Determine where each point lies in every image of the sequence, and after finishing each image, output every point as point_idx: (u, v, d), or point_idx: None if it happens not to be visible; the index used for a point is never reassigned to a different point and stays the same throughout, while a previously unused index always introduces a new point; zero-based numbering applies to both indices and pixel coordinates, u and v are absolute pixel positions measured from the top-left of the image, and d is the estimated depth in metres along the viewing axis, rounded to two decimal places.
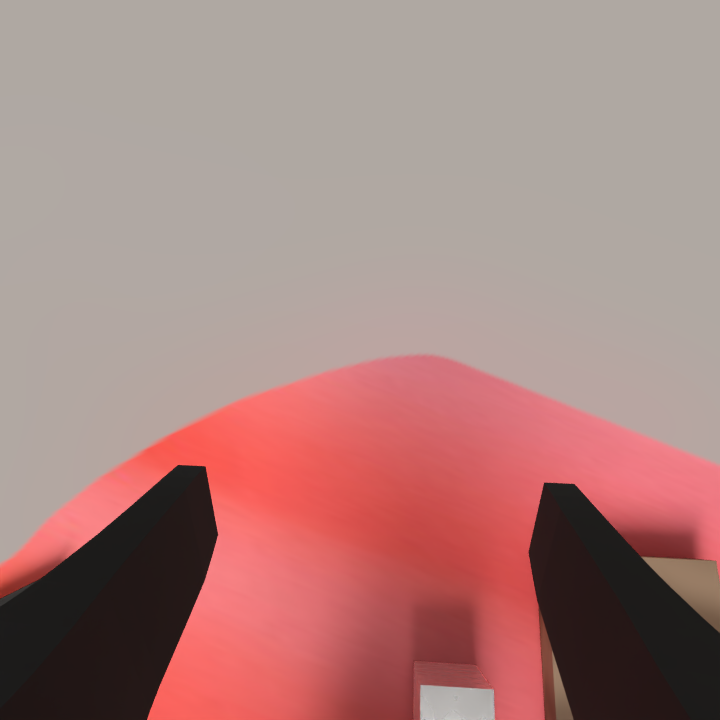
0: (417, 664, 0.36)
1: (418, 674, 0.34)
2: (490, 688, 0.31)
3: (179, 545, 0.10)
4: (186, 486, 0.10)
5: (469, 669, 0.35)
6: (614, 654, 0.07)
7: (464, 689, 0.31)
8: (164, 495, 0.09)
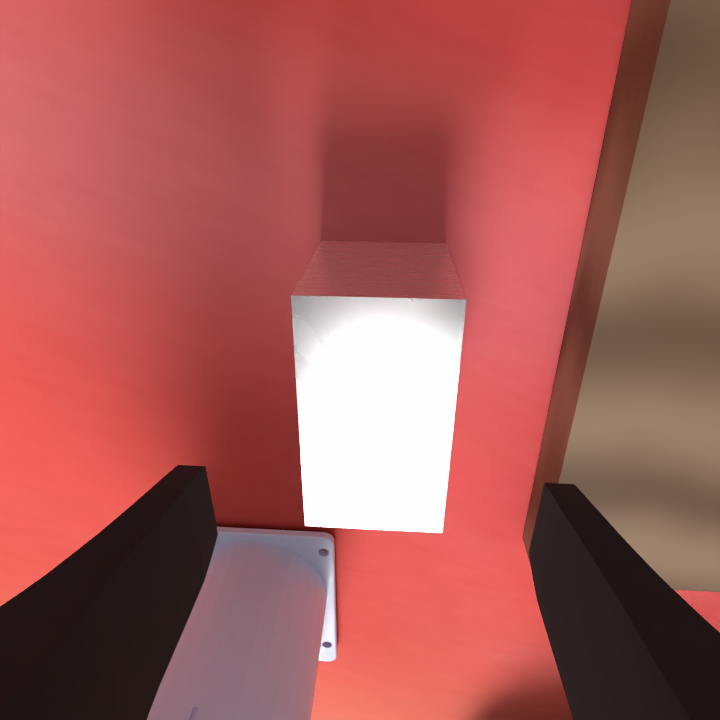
0: (323, 247, 0.18)
1: (307, 269, 0.15)
2: (459, 297, 0.13)
3: (179, 545, 0.10)
4: (186, 486, 0.10)
5: (428, 253, 0.17)
6: (614, 654, 0.07)
7: (396, 302, 0.13)
8: (164, 495, 0.09)
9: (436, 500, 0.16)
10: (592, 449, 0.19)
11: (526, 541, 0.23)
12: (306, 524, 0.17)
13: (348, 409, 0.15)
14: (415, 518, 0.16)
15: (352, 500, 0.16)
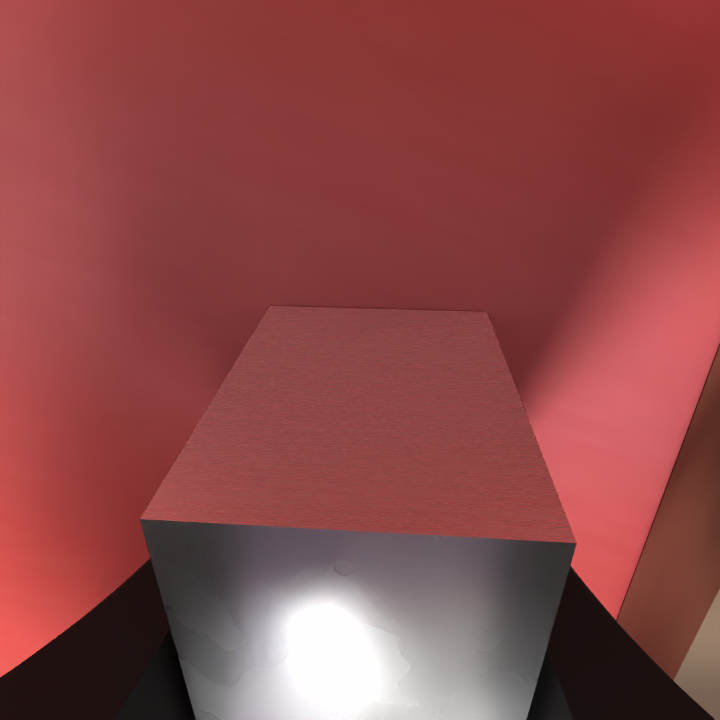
0: (267, 326, 0.10)
1: (217, 398, 0.07)
2: (555, 528, 0.05)
3: None
4: None
5: (459, 344, 0.09)
6: None
7: (398, 542, 0.05)
8: None
9: None
10: None
11: None
12: None
13: (296, 710, 0.07)
14: None
15: None
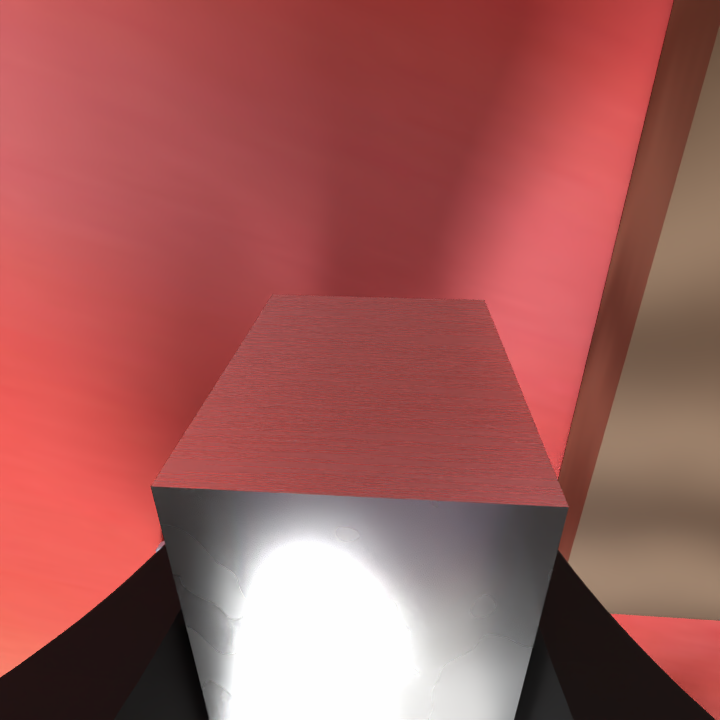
0: (271, 313, 0.10)
1: (223, 379, 0.08)
2: (548, 494, 0.05)
3: None
4: None
5: (457, 330, 0.09)
6: None
7: (398, 507, 0.05)
8: None
9: None
10: (623, 470, 0.16)
11: None
12: None
13: (300, 678, 0.07)
14: None
15: None
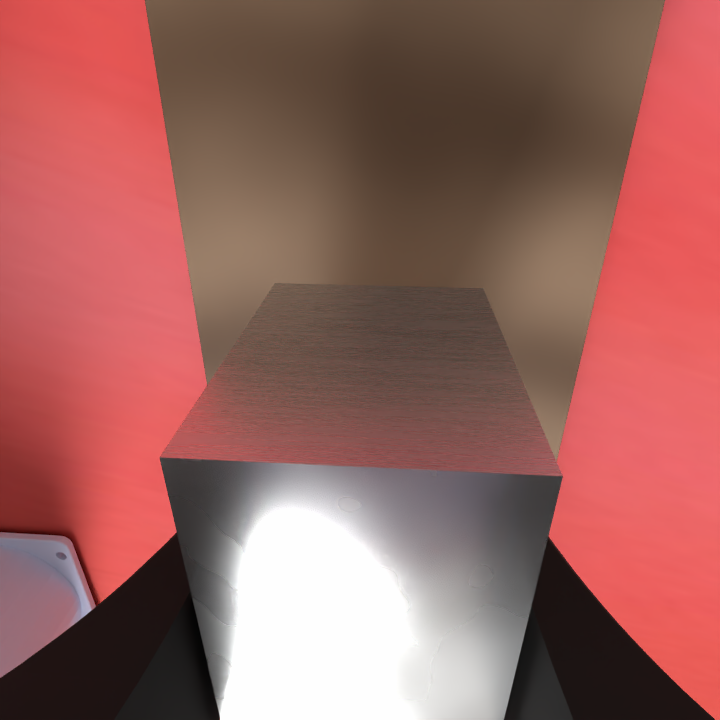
0: (273, 300, 0.10)
1: (228, 360, 0.08)
2: (543, 465, 0.06)
3: None
4: None
5: (456, 315, 0.09)
6: (524, 648, 0.07)
7: (399, 477, 0.06)
8: None
9: None
10: None
11: None
12: None
13: (302, 651, 0.07)
14: None
15: None
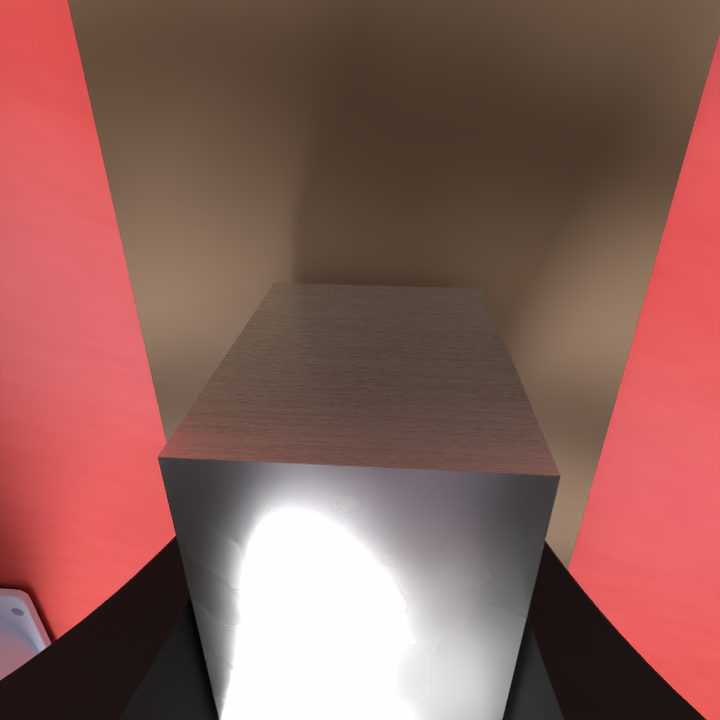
0: (272, 300, 0.10)
1: (226, 360, 0.08)
2: (541, 464, 0.06)
3: None
4: None
5: (455, 315, 0.09)
6: None
7: (397, 477, 0.06)
8: None
9: None
10: None
11: None
12: None
13: (300, 650, 0.07)
14: None
15: None
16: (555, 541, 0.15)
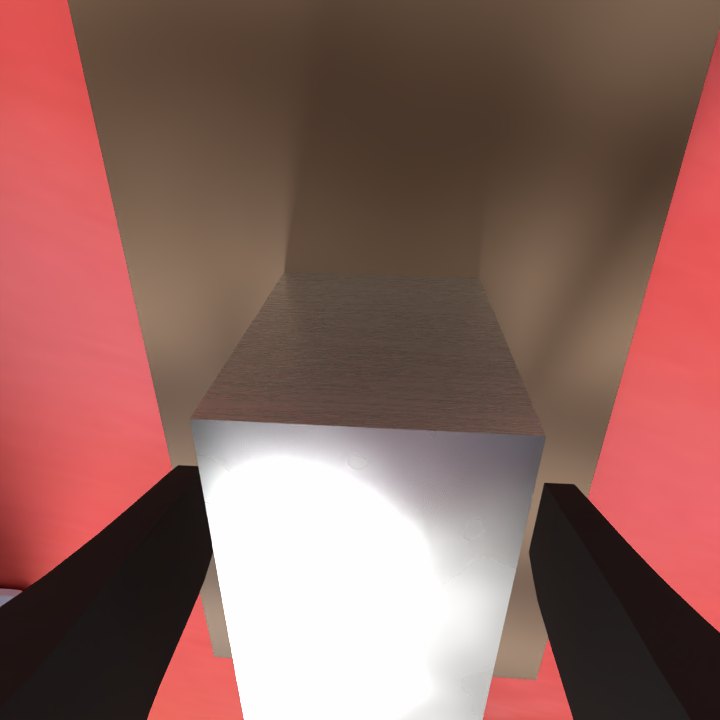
0: (283, 287, 0.11)
1: (245, 339, 0.09)
2: (529, 427, 0.06)
3: (179, 545, 0.10)
4: (186, 486, 0.10)
5: (454, 301, 0.10)
6: (614, 654, 0.07)
7: (401, 436, 0.06)
8: (164, 495, 0.09)
9: None
10: None
11: None
12: None
13: (312, 601, 0.08)
14: None
15: (324, 718, 0.10)
16: None
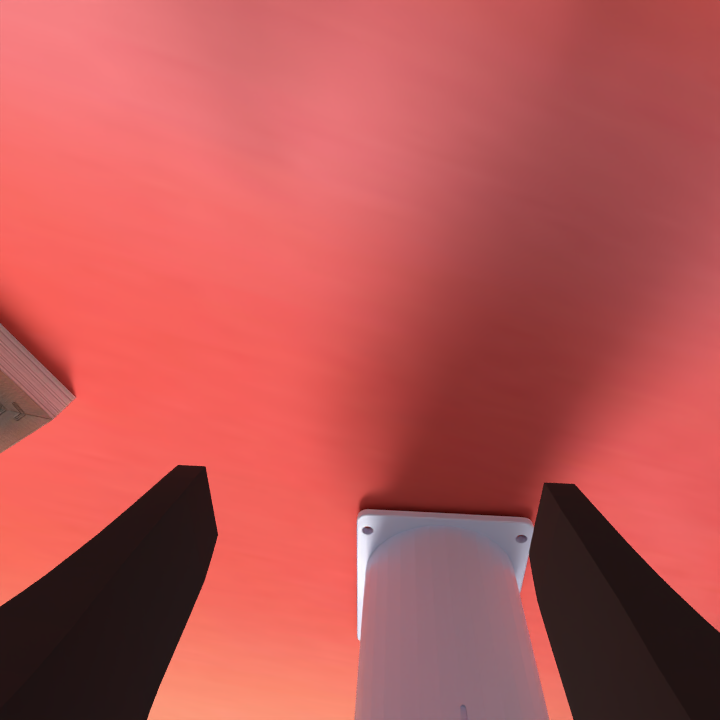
0: None
1: None
2: None
3: (179, 545, 0.10)
4: (186, 486, 0.10)
5: None
6: (614, 654, 0.07)
7: None
8: (164, 495, 0.09)
9: None
10: None
11: None
12: None
13: None
14: None
15: None
16: None
